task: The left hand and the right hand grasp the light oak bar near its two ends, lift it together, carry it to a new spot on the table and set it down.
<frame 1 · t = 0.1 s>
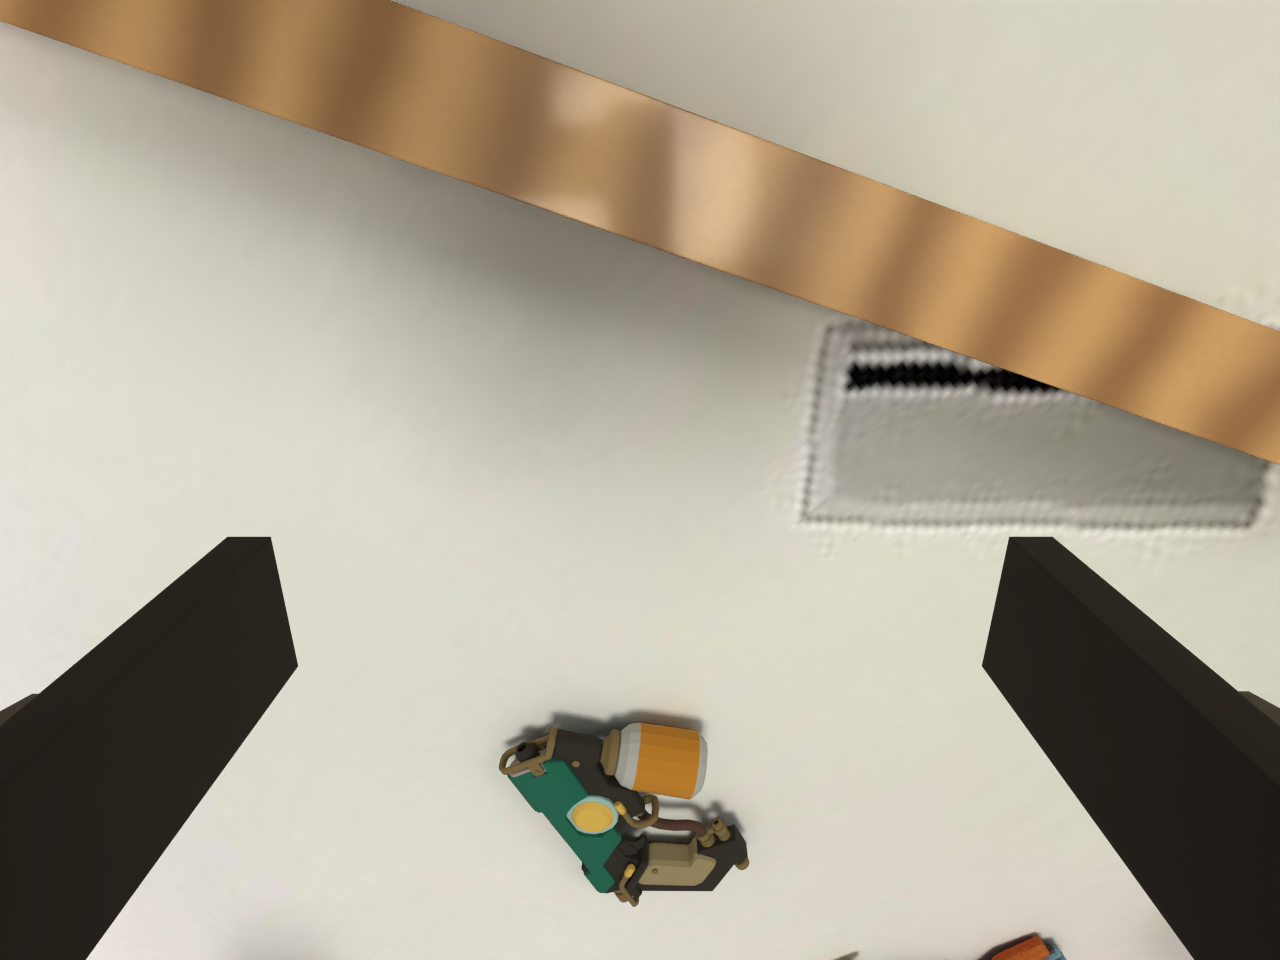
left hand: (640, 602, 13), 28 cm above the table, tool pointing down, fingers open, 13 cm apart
spray gun: (630, 794, 51), on the table
bar: (759, 217, 37), on the table
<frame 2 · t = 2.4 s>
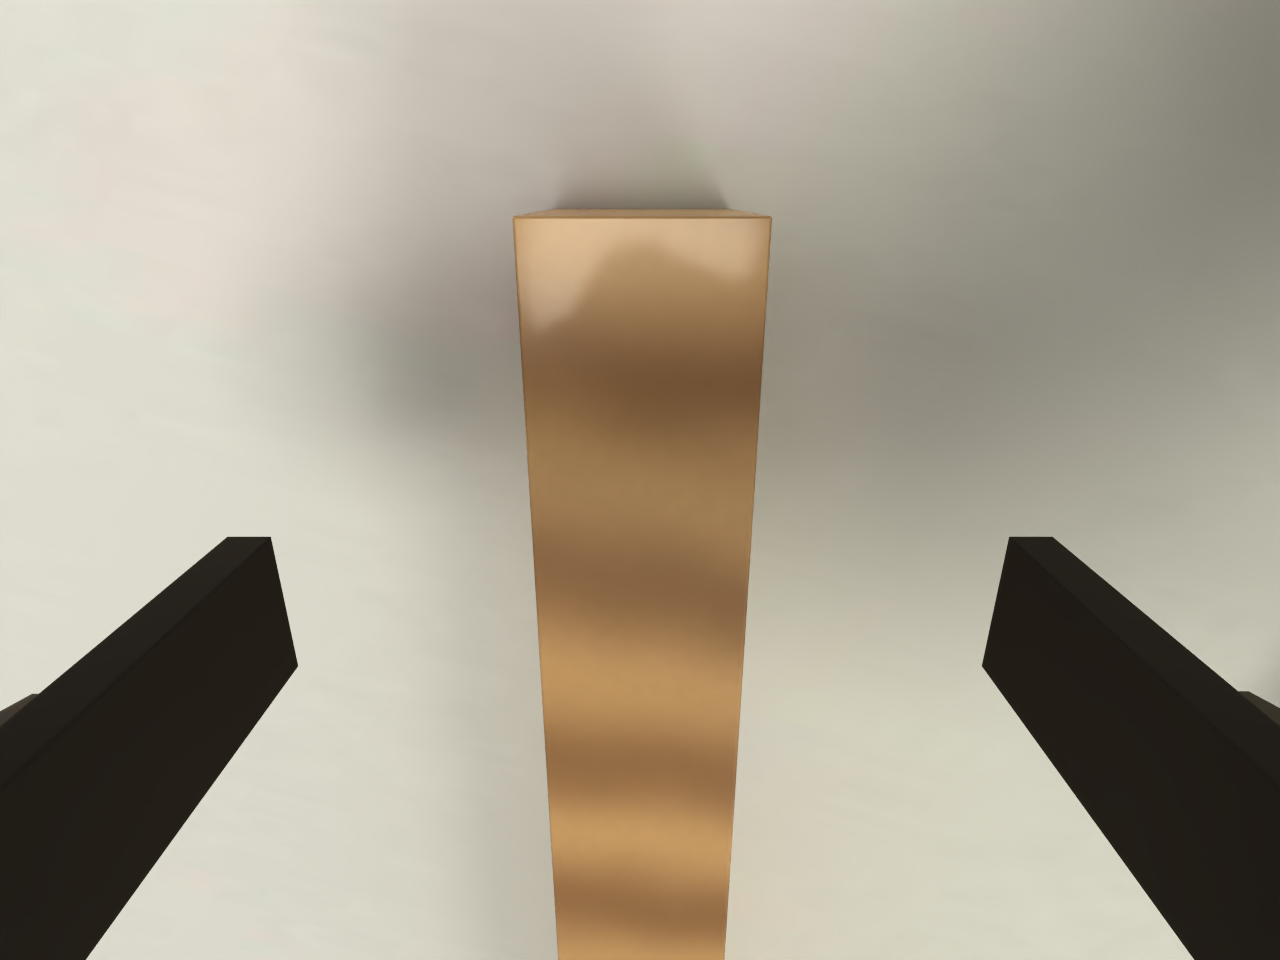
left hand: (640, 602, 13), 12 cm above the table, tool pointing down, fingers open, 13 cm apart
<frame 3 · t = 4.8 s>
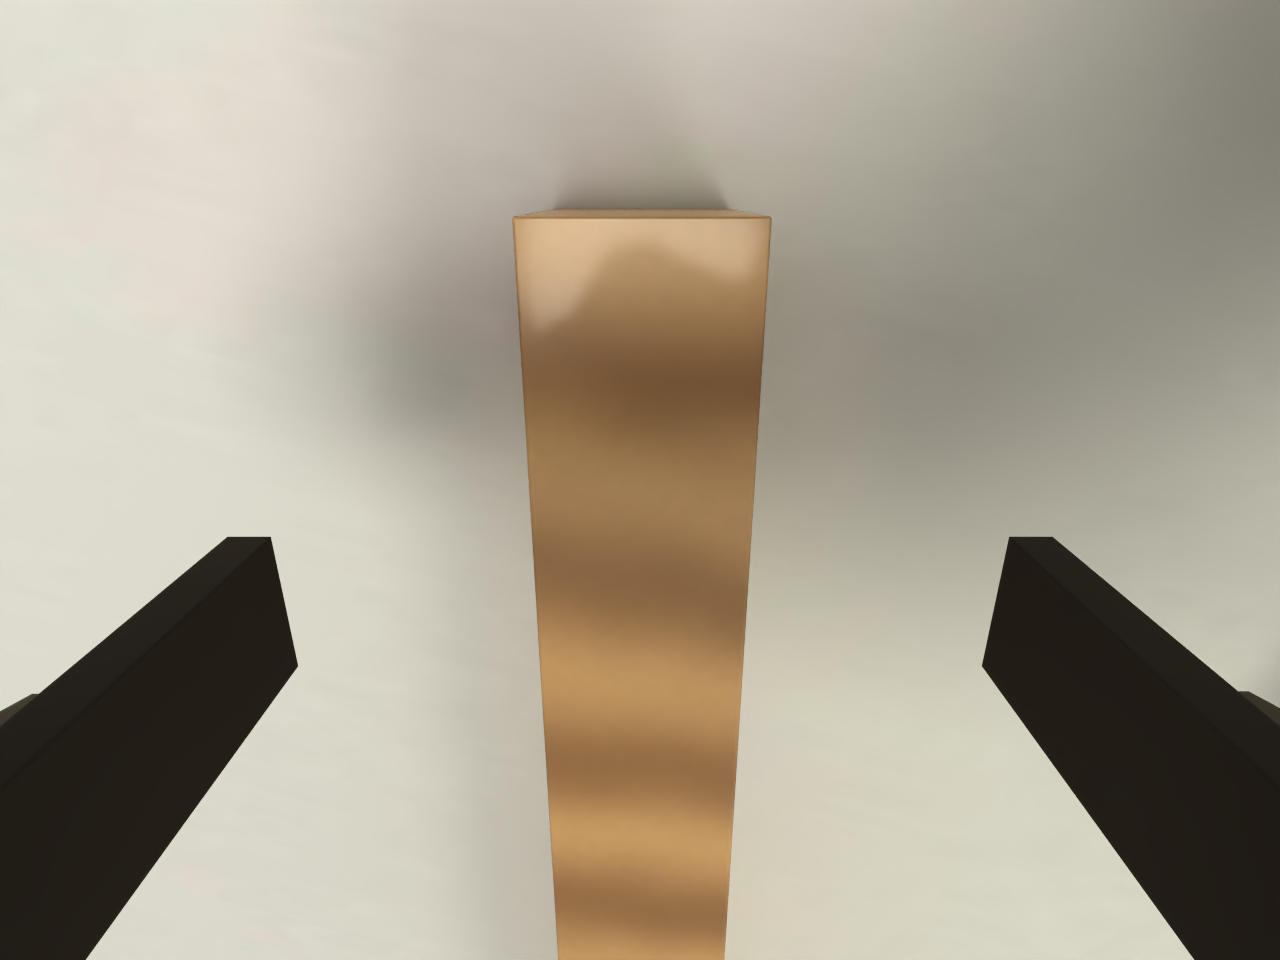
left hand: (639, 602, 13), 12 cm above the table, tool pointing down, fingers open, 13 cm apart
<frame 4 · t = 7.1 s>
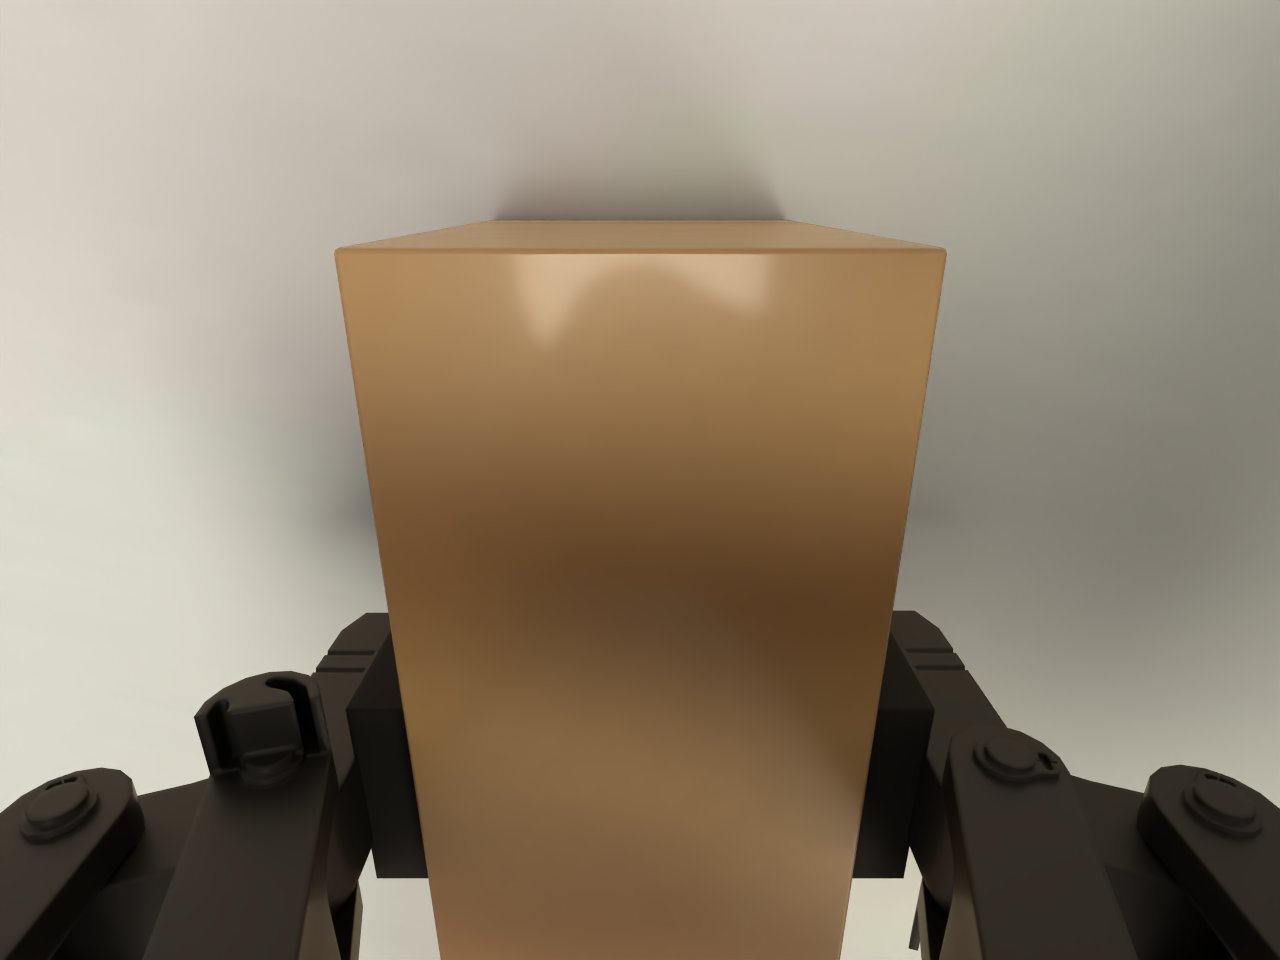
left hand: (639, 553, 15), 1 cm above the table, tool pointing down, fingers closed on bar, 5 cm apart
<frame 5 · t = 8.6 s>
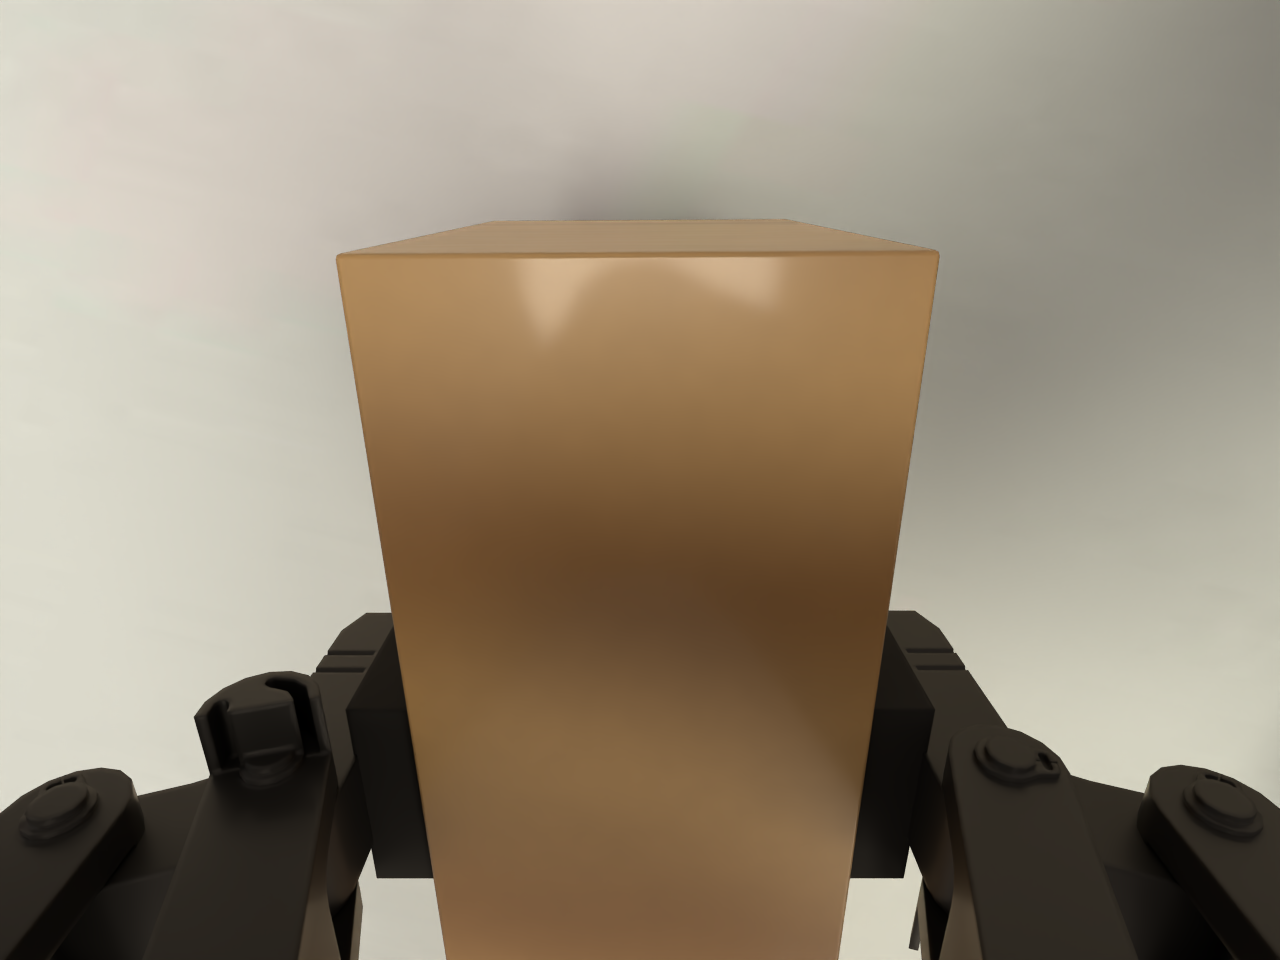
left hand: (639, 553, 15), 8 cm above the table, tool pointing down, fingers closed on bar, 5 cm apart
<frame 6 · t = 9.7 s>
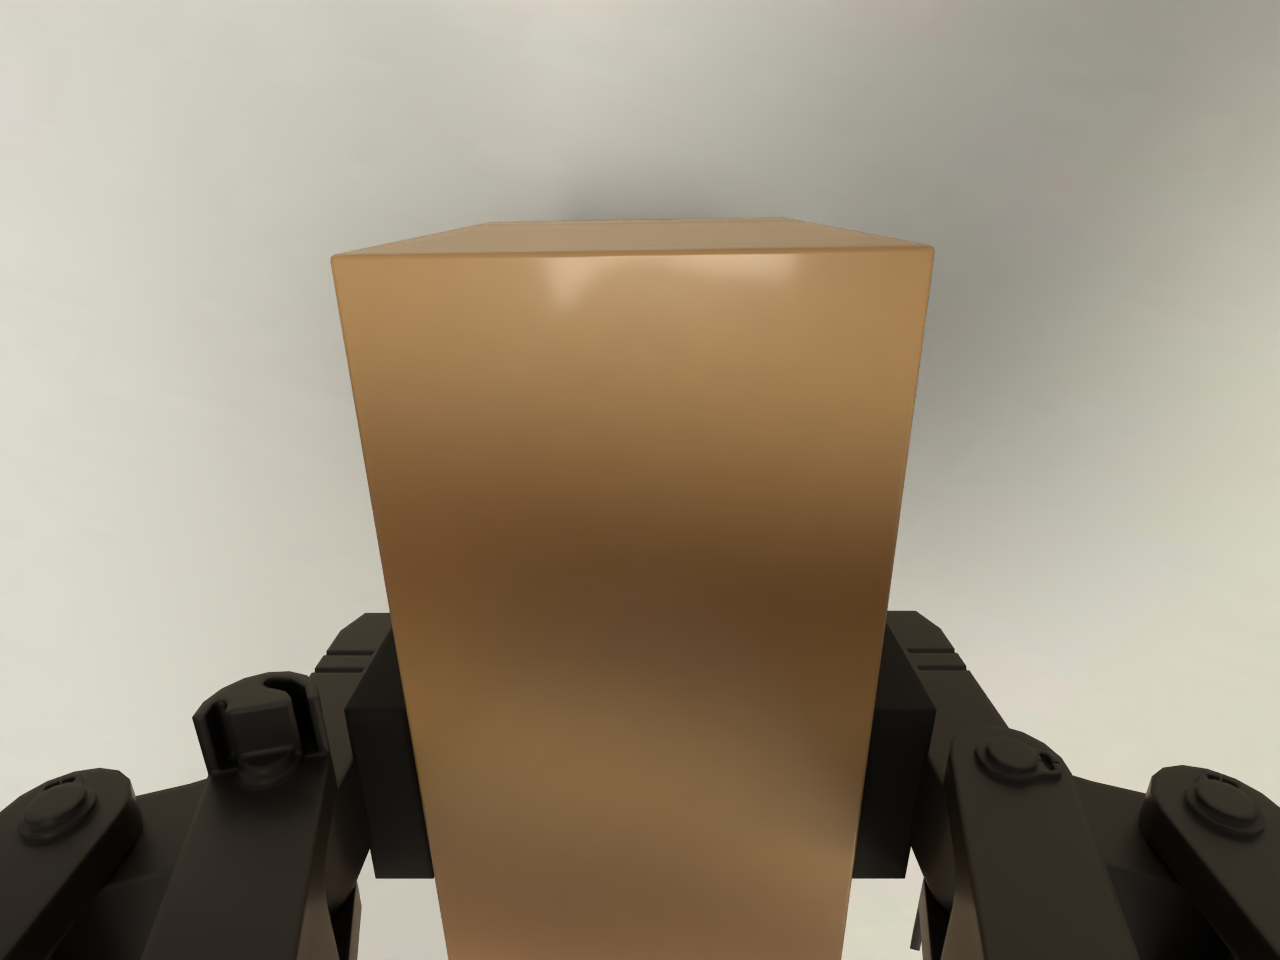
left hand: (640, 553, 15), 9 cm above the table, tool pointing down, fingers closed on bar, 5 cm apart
when the left hand's fingers open (1 cm above the table, at t = 12.1 s): bar stays where it is, on the table.
when the right hand's fingers open (4 cm above the table, at t = 12.3 s): bar stays where it is, on the table.
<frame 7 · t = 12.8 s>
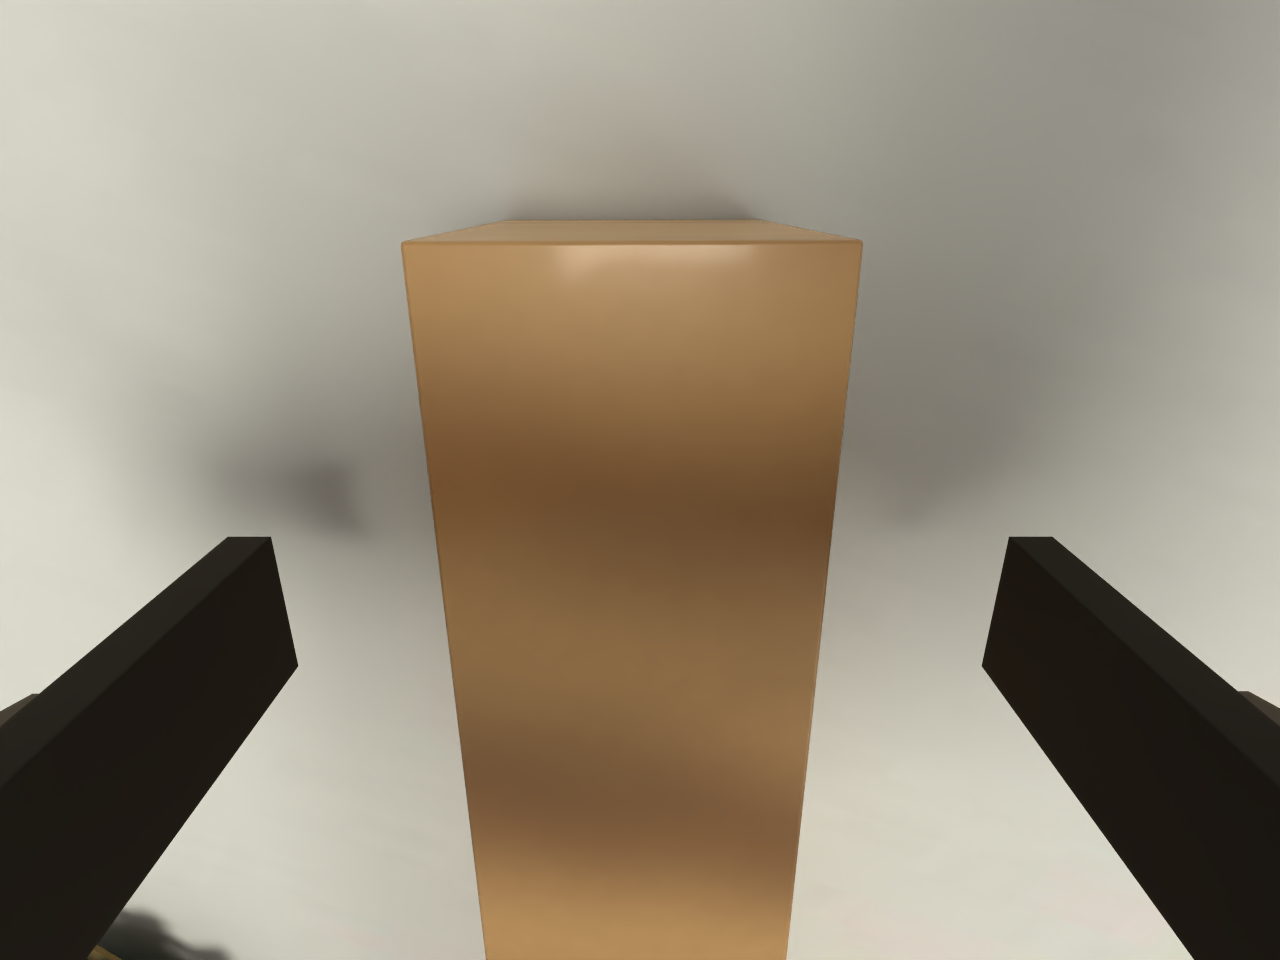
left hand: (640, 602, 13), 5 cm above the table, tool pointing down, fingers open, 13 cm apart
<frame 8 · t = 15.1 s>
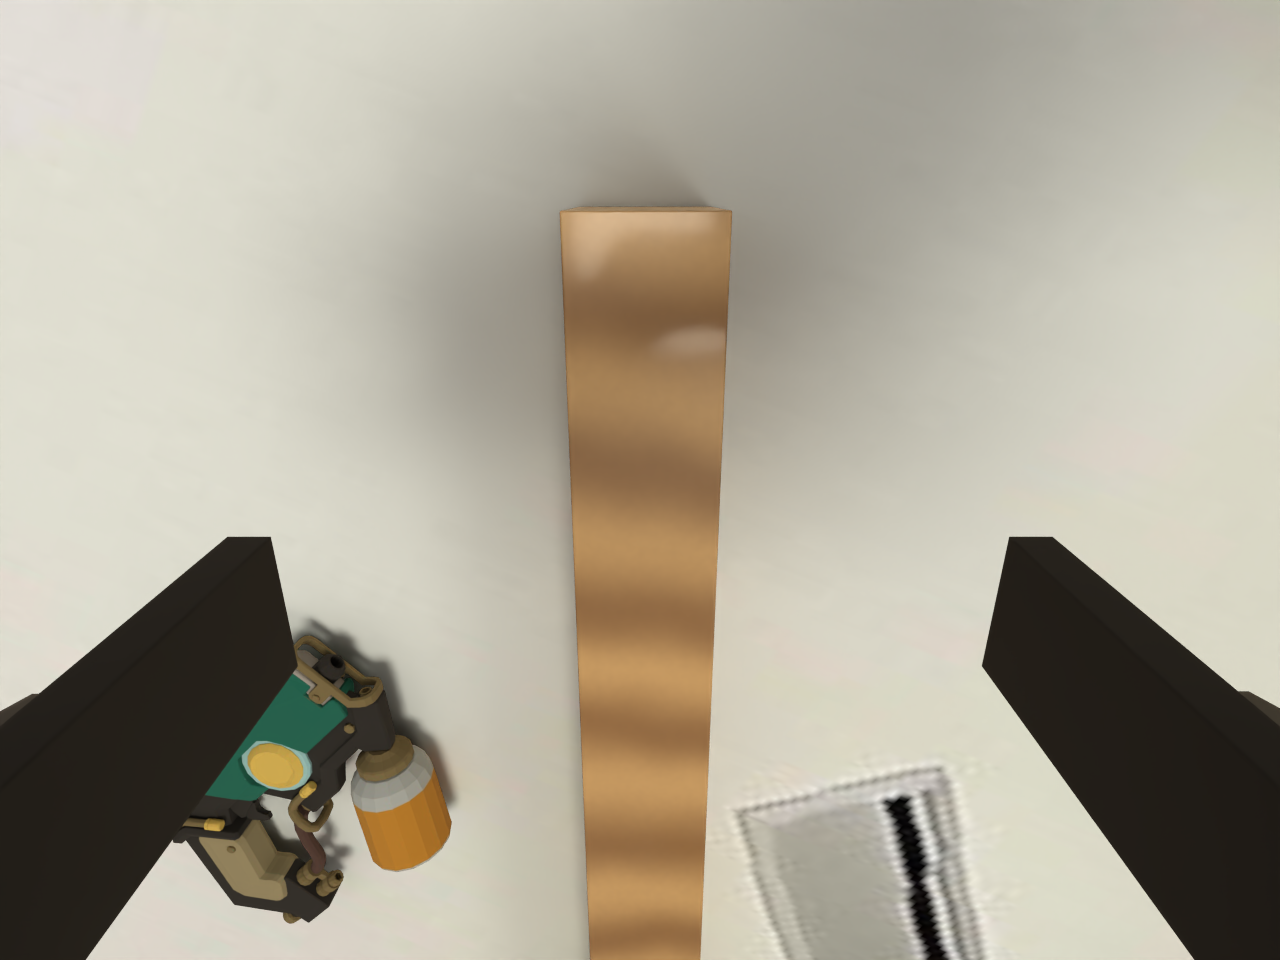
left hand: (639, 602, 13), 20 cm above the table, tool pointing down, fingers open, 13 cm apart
spray gun: (309, 768, 40), on the table
bar: (644, 886, 43), on the table
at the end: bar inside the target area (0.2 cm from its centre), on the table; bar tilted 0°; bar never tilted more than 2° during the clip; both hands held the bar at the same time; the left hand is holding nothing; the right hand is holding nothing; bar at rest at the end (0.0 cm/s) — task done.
